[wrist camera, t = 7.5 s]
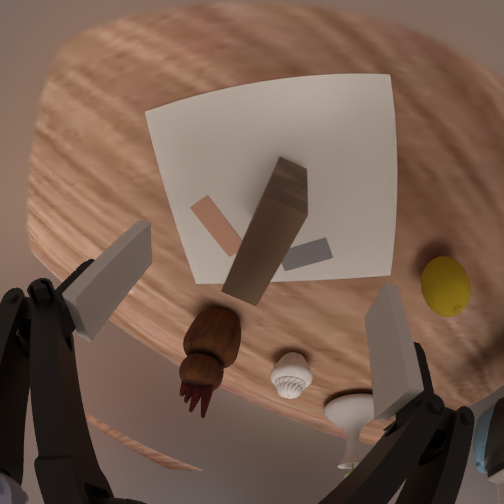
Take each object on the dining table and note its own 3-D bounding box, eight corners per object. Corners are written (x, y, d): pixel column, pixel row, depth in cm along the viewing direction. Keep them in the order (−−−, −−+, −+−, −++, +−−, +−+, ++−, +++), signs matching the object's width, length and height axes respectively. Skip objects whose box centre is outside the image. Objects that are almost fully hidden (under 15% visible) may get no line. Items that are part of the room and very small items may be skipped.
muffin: (266, 360, 40) (258, 399, 34) (285, 340, 37) (279, 382, 31) (300, 373, 41) (296, 410, 35) (321, 354, 37) (320, 395, 31)
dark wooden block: (307, 164, 22) (307, 215, 13) (251, 274, 29) (227, 352, 21) (281, 153, 22) (263, 194, 13) (230, 265, 29) (199, 341, 20)
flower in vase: (360, 415, 47) (356, 520, 26) (314, 408, 47) (300, 522, 26) (398, 387, 40) (404, 513, 19) (347, 378, 40) (341, 522, 19)
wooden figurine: (249, 309, 35) (220, 415, 22) (242, 336, 38) (216, 431, 25) (199, 295, 35) (152, 393, 22) (197, 323, 38) (158, 413, 26)
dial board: (387, 267, 28) (390, 276, 26) (200, 276, 33) (195, 284, 32) (385, 75, 18) (390, 74, 16) (152, 110, 23) (144, 111, 22)
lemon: (405, 260, 27) (426, 310, 20) (444, 234, 24) (475, 278, 18) (422, 290, 28) (442, 339, 22) (458, 266, 26) (484, 311, 19)
